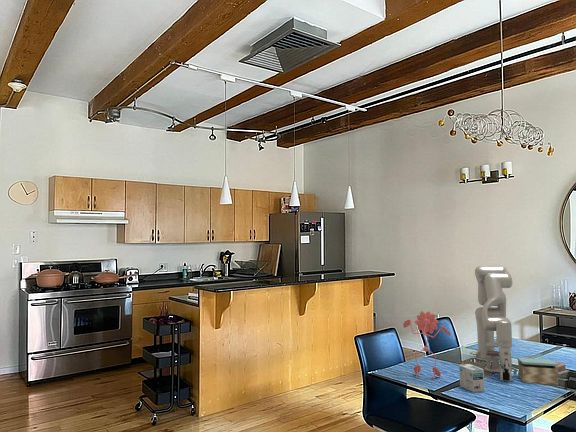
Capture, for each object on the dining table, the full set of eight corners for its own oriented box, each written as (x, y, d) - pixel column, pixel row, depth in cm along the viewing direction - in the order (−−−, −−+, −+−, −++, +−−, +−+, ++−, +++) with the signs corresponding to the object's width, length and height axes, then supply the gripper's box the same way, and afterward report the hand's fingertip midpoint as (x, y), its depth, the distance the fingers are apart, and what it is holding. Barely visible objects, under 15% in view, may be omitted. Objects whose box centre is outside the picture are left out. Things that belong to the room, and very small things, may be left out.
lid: (522, 363, 236) (522, 361, 236) (517, 359, 249) (517, 357, 249) (558, 366, 231) (558, 364, 231) (551, 361, 244) (551, 359, 244)
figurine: (450, 382, 236) (448, 314, 239) (401, 375, 250) (399, 311, 252) (455, 375, 249) (454, 310, 252) (409, 369, 263) (407, 307, 265)
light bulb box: (485, 391, 223) (484, 368, 223) (473, 392, 221) (472, 370, 221) (470, 384, 233) (469, 363, 234) (459, 386, 231) (458, 364, 232)
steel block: (501, 380, 239) (500, 368, 239) (499, 377, 244) (499, 366, 244) (511, 381, 237) (511, 369, 238) (510, 378, 242) (509, 367, 242)
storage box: (523, 382, 235) (522, 366, 236) (518, 374, 249) (518, 359, 249) (558, 385, 230) (557, 369, 231) (551, 377, 244) (550, 361, 244)
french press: (505, 368, 260) (504, 324, 261) (498, 373, 251) (497, 327, 253) (487, 365, 266) (486, 322, 268) (480, 370, 258) (479, 325, 259)
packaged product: (551, 359, 261) (569, 364, 253) (552, 368, 261) (569, 372, 252) (532, 364, 253) (549, 368, 244) (532, 373, 253) (550, 378, 244)
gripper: (514, 347, 232) (516, 384, 231) (509, 340, 248) (510, 374, 248) (498, 346, 235) (500, 382, 234) (494, 339, 251) (495, 373, 250)
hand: (505, 378), depth 241 cm, fingers closed on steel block, 5 cm apart
